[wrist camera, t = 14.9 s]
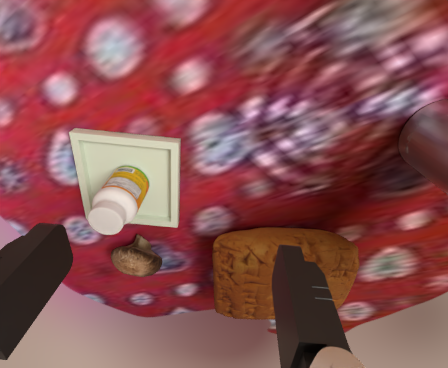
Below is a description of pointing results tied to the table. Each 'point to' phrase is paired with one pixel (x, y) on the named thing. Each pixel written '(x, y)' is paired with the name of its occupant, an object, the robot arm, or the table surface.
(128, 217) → the supplement bottle
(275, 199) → the table surface
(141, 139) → the tray
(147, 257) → the mushroom
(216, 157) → the table surface
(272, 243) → the clay tablet
